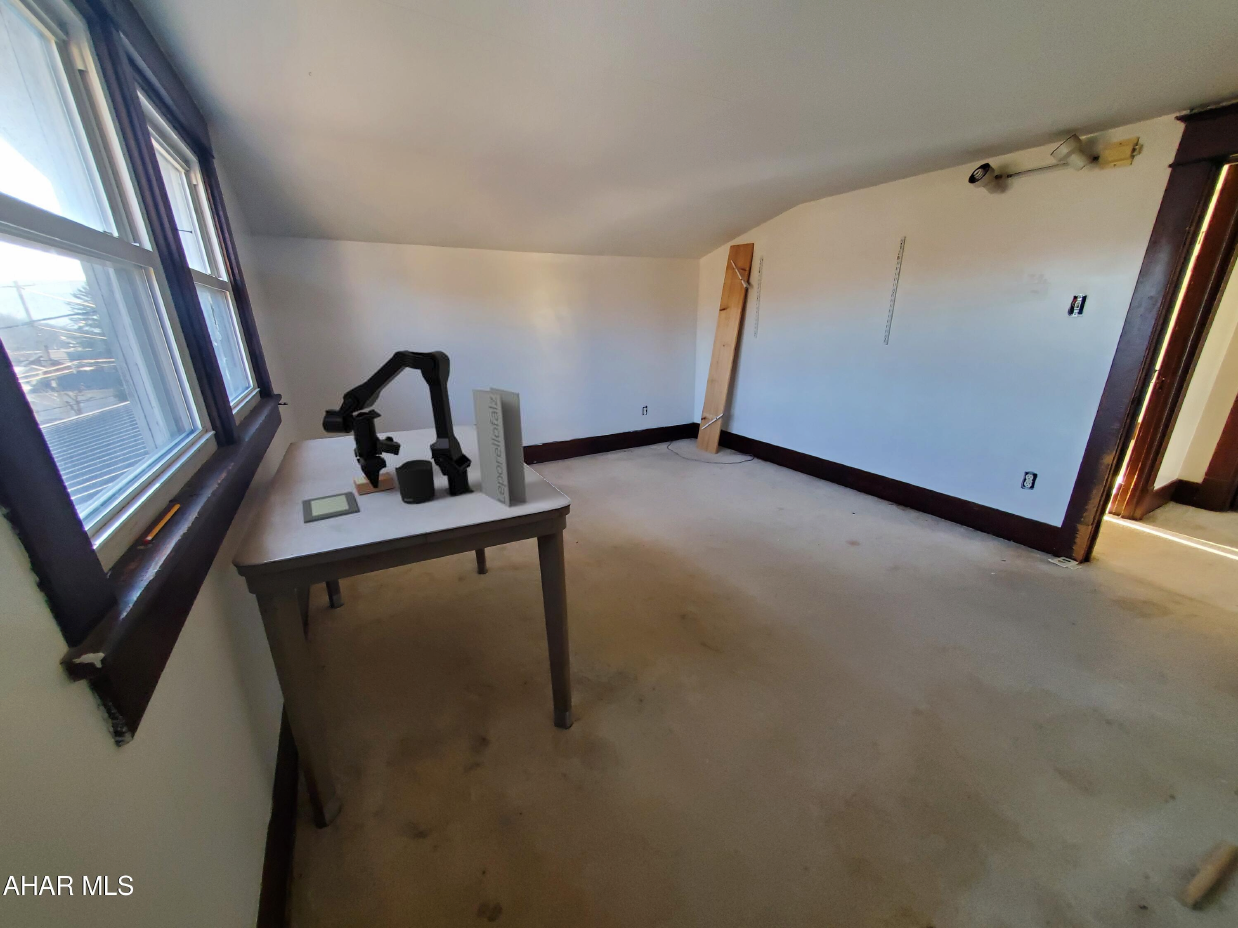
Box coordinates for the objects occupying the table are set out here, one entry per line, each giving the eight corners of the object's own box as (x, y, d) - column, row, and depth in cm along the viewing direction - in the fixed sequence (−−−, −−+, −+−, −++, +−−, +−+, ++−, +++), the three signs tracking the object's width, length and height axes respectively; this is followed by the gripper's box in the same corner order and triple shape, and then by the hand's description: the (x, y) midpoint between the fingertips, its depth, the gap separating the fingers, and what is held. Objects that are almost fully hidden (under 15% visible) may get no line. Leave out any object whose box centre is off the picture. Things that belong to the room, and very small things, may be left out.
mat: (358, 512, 120) (358, 509, 120) (304, 523, 114) (303, 520, 113) (352, 493, 133) (351, 491, 132) (302, 502, 126) (302, 500, 126)
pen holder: (396, 497, 129) (390, 464, 126) (430, 489, 135) (425, 457, 132) (406, 508, 123) (400, 472, 119) (441, 499, 128) (437, 465, 125)
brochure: (482, 493, 132) (472, 389, 123) (499, 488, 136) (490, 387, 127) (509, 507, 123) (499, 396, 113) (526, 501, 126) (519, 393, 117)
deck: (390, 482, 141) (388, 471, 140) (394, 487, 136) (392, 477, 135) (355, 488, 135) (353, 478, 134) (358, 494, 131) (356, 484, 130)
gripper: (402, 436, 127) (410, 488, 132) (390, 423, 142) (398, 471, 147) (356, 442, 121) (367, 497, 126) (349, 428, 136) (358, 478, 141)
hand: (374, 484), depth 135 cm, fingers closed on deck, 6 cm apart
